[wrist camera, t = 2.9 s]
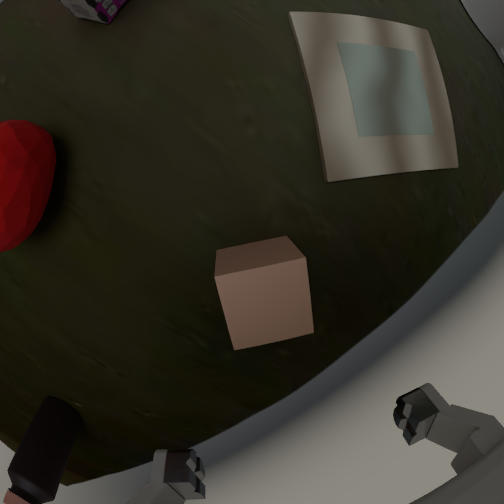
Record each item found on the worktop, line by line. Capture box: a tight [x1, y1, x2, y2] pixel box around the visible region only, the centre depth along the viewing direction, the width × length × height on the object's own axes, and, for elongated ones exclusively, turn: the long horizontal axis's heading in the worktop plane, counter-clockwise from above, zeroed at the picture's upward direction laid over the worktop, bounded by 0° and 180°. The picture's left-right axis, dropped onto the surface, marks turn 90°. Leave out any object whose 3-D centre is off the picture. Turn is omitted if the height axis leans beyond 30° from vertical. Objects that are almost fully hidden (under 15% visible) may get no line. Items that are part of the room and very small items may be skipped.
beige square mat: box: [288, 12, 458, 182], centre depth 20 cm, size 16×16×1 cm
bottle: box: [3, 397, 82, 504], centre depth 19 cm, size 7×7×20 cm
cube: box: [214, 236, 314, 350], centre depth 22 cm, size 6×6×6 cm
